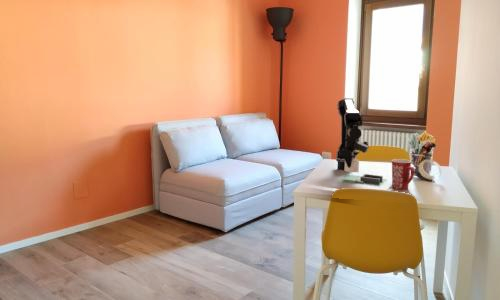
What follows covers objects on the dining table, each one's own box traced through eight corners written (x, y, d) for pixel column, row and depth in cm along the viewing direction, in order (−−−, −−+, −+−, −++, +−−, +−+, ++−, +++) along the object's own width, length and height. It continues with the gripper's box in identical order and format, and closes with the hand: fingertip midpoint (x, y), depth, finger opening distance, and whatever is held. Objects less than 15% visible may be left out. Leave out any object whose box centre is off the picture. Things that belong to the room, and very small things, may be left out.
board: (337, 183, 205) (337, 179, 205) (347, 177, 219) (347, 173, 218) (379, 189, 195) (379, 185, 194) (387, 182, 208) (387, 177, 208)
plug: (338, 170, 210) (339, 157, 209) (341, 169, 213) (341, 156, 212) (357, 172, 205) (357, 159, 204) (359, 171, 208) (359, 157, 207)
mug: (386, 186, 200) (387, 159, 198) (401, 184, 203) (403, 158, 201) (402, 193, 189) (404, 164, 186) (419, 191, 191) (421, 163, 189)
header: (360, 181, 203) (360, 177, 203) (364, 178, 210) (364, 173, 209) (378, 184, 199) (378, 179, 198) (382, 180, 205) (382, 176, 204)
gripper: (362, 140, 194) (360, 172, 196) (372, 135, 209) (371, 165, 212) (339, 138, 199) (338, 169, 202) (351, 133, 215) (350, 162, 218)
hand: (350, 166), depth 208 cm, fingers closed on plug, 3 cm apart
